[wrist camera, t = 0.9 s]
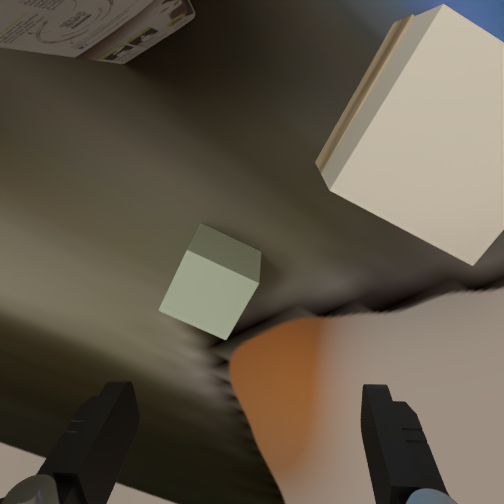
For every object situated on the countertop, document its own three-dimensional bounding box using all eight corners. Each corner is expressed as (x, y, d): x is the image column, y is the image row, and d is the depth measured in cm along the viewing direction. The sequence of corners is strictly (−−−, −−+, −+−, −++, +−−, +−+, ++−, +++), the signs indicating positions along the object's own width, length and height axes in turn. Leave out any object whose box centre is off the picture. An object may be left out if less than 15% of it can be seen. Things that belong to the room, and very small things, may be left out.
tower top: (321, 174, 25) (329, 190, 22) (414, 16, 22) (443, 4, 18) (445, 240, 27) (472, 265, 23) (553, 103, 23) (606, 108, 19)
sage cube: (175, 275, 33) (158, 310, 28) (200, 222, 31) (187, 249, 26) (233, 301, 34) (226, 340, 29) (261, 251, 32) (259, 283, 27)
